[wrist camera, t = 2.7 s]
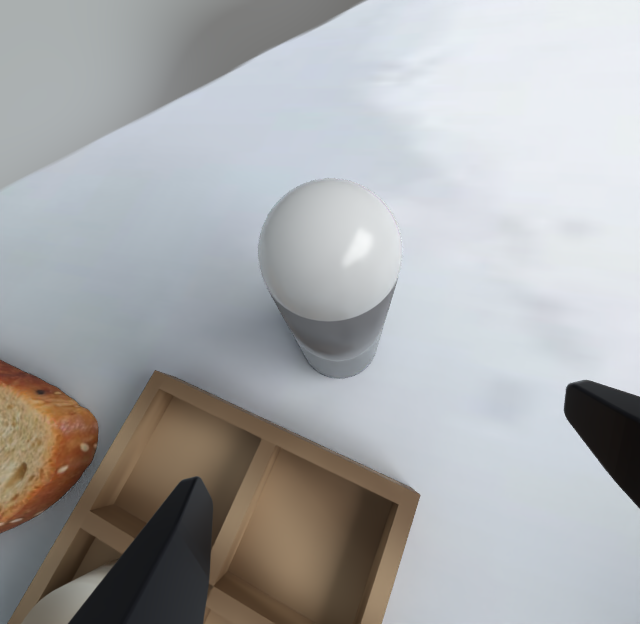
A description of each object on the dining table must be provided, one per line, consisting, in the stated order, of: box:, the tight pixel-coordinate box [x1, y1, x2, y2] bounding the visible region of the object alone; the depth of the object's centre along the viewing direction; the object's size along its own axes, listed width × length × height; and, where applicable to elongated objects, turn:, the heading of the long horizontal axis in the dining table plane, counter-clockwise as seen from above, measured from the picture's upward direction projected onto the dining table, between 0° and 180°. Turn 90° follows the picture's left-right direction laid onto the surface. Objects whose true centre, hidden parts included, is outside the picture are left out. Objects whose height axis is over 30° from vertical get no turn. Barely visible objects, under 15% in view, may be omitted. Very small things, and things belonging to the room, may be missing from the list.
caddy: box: [7, 370, 420, 624], centre depth 16 cm, size 16×16×4 cm
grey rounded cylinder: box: [258, 178, 403, 379], centre depth 16 cm, size 5×5×13 cm
